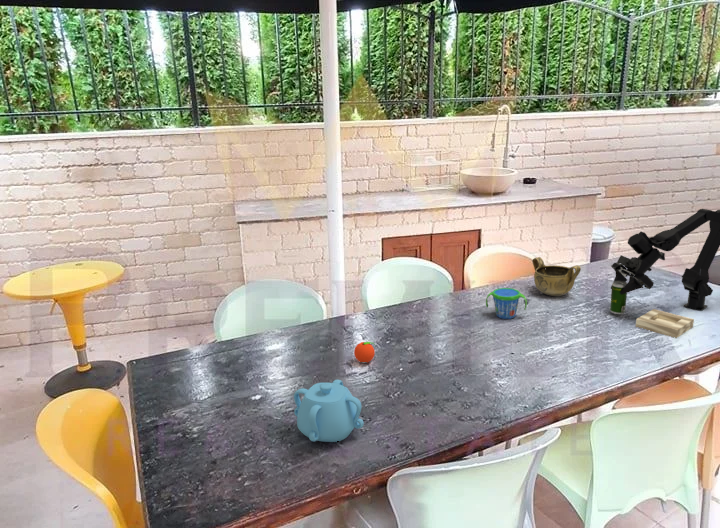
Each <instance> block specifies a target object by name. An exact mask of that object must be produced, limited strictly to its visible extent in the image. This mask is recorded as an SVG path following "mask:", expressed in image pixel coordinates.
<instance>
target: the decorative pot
mask: <svg viewBox="0 0 720 528" xmlns="http://www.w3.org/2000/svg"><path fill="white" fill-rule="evenodd" d="M300 394H302V395H303V398H302V400H301V397H300ZM293 400H294V403H295V406H296V408H294V412H293V413H294V416H295V417H297V418H296V424H297V425H296V426H297V428H298V430H299V431H300V432H301V433H302V434H303V435H304V436H305V437H307V438H309V440H310V441H311V442H318V441H319V442H324V443H326V442H327V443H333V442H336V443H338V442H337V441H339V442H340V441H344V440H345V439H346V438H347V437H349V436H350V435H351V433H352V432H353V430H354V429H357V430H358V429H363V426H364V425H365V422H364V420H363V419H362V418H359V417H360V415H361V412H362V406H363V405H362V402H361V401H360V399H359V398H358V397H355V396H354V395H353V394H352V393H351V391H350V390H349V388H348V387H346V386H344V383H343V380H341V379H334V380H333V381H332V382H317V383H314V384H313V385H312V386H311V387H309V388H308V389H307V388H303V387H302V388H299V389H297V390H296V391H295V392H294V394H293Z"/></svg>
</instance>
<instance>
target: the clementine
mask: <svg viewBox="0 0 720 528" xmlns="http://www.w3.org/2000/svg"><path fill="white" fill-rule="evenodd" d="M372 344H373V345H372ZM374 345H375V343H374V342H372V341H361V342H359V343H358V344H356V346H355V347H354V350H353V351H354V352H353V355H354V358H355V359H356V361H358V362H359V361H360V363H361V362H367V363H370V362H371V361H372V360H373V359H374V357H375V352H376V351H375V348H374Z"/></svg>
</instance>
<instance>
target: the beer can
mask: <svg viewBox="0 0 720 528" xmlns="http://www.w3.org/2000/svg"><path fill="white" fill-rule="evenodd" d="M613 281H614V280H613ZM627 283H628V281H626V282H624V281H614V282H612V284H611V286H612V289H611V293H610V304H609V311H610V313H612V314H615V315H624V314H625V313H626V307H627V298H628V296H627V295H628V293H625V294H623V295H621V294H620V292H621V290H622V289H623V288H624V287H625V285H626V284H627Z"/></svg>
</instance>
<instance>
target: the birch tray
mask: <svg viewBox="0 0 720 528" xmlns="http://www.w3.org/2000/svg"><path fill="white" fill-rule="evenodd" d="M694 322H695V319H694V318H691V317H687V316H683V315H678V314H676V313H675V314H674V313H671V312H667V311H663V310H660V309H655V308H653V309H651V310H649V311H648V312H646V313H644V314H643V315H641V316H639V317H637V318H636V320H635V327H636V328H638V327H639V329H642V328H643V329H642V330H645V329H646V331H649V330H650V332H652V331H653V333H656V334H660V335H663V334H664V336H667V337H670V336H671V338H674V337H675V338H674V339H678V338H679V337H680V335H681V336H683V335H684V334H685V333H686V332H688V331H689V330H690V329H692V328H694ZM677 337H678V338H677Z"/></svg>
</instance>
